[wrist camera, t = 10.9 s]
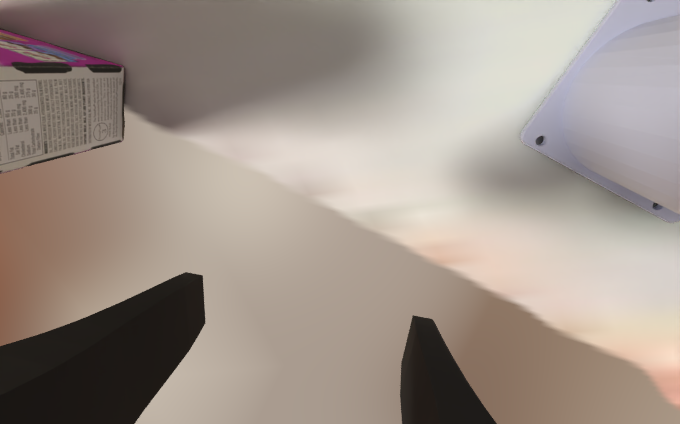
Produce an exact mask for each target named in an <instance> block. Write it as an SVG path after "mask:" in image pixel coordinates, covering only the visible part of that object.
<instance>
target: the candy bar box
mask: <svg viewBox="0 0 680 424" xmlns="http://www.w3.org/2000/svg"><path fill="white" fill-rule="evenodd" d="M124 84H125V83H124V67H123V66H122V65H119V64H115V63H112V62H109V61H105V60H102V59H99V58H95V57H92V56H88V55H85V54H82V53H79V52H75V51H72V50H68V49H65V48H62V47H58V46H55V45H52V44H48V43H45V42H42V41H38V40H35V39H31V38H28V37H25V36H22V35H18V34H15V33H12V32H9V31H6V30H2V29H0V173H5V172H9V171H12V170H16V169H20V168H23V167H25V166H31V165H34V164H38V163H42V162H46V161H50V160H54V159H57V158H61V157H66V156H69V155H73V154H78V153H81V152H86V151H89V150H92V149H96V148H99V147H104V146H108V145H111V144H115V143H119V142H122V141H123V138H124V127H125V125H124V124H125V121H124Z"/></svg>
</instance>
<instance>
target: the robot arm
mask: <svg viewBox="0 0 680 424" xmlns="http://www.w3.org/2000/svg"><path fill="white" fill-rule="evenodd" d="M539 136H543V137H544V140H543V142H542V143H541V144H539V145H536V139H537V138H538V137H539ZM520 140H521V142H522V143H524V144H525V145H527V146H529V147H531V148H533V149H534V150H536V151H538V152H540V153H542V154H543V155H545V156H547V157H549V158H551V159H553V160H554V161H556V162H558V163H560V164H562V165H564V166H565V167H567V168H569V169H571V170H573V171H575V172H576V173H578V174H580V175H582V176H584V177H585V178H587V179H589V180H591V181H593V182H595V183H596V184H598V185H600V186H602V187H604V188H606V189H607V190H609V191H611V192H613V193H615V194H617V195H618V196H620V197H622V198H624V199H626V200H628V201H629V202H631V203H633V204H635V205H637V206H638V207H640V208H642V209H644V210H646V211H648V212H649V213H651V214H653V215H655V216H657V217H659V218H660V219H662V220H664V221H666V222H669V223H675V222H678V221H680V0H651V1H650V2H648V1H647V0H616V2H615V3H614V4H613V6H612V7H611V9H610V10H609V11H608V13H607V14H606V15H605V17H604V18H603V20H602V21H601V22H600V24H599V25H598V27H597V28H596V29H595V31H594V32H593V33H592V35H591V36H590V38H589V39H588V40H587V42H586V43H585V44H584V46H583V47H582V49H581V50H580V51H579V53H578V54H577V55H576V57H575V58H574V60H573V61H572V62H571V64H570V65H569V66H568V68H567V69H566V71H565V72H564V73H563V75H562V76H561V77H560V79H559V80H558V82H557V83H556V84H555V86H554V87H553V88H552V90H551V91H550V93H549V94H548V95H547V97H546V98H545V99H544V101H543V102H542V104H541V105H540V106H539V108H538V109H537V110H536V112H535V113H534V115H533V116H532V117H531V119H530V120H529V121H528V123H527V124H526V126H525V127H524V128H523V130H522V131H521V133H520ZM654 203H657V204H658V205H657V206H655V207H653V204H654ZM204 324H205V310H204V292H203V276H202V275H197V274H192V273H187V272H186V273H183V274H181V275H178V276H176V277H174V278H172V279H169V280H167V281H165V282H163V283H161V284H159V285H157V286H155V287H153V288H150V289H149V290H146V291H144V292H142V293H140V294H138V295H136V296H133V297H131V298H129V299H127V300H125V301H123V302H120V303H118V304H116V305H113V306H111V307H109V308H106V309H104V310H102V311H99V312H97V313H95V314H93V315H90V316H88V317H86V318H83V319H80V320H78V321H76V322H73V323H70V324H67V325H65V326H62V327H59V328H56V329H53V330H51V331H48V332H45V333H42V334H39V335H36V336H33V337H30V338H26V339H23V340H20V341H16V342H13V343H10V344H6V345H3V346H0V424H134V423H135V422H136V421H137V419H138V418H139V416H140V415H141V414H142V412H143V411H144V409H145V408H146V407H147V405H148V404H149V403H150V401H151V400H152V399H153V398H154V396H155V395H156V394H157V392H158V391H159V390H160V388H161V387H162V386H163V384H164V383H165V382H166V381H167V379H168V378H169V376H170V375H171V374H172V373H173V371H174V370H175V369H176V367H177V366H178V365H179V363H180V362H181V361H182V359H183V358H184V357H185V355H186V354H187V353H188V351H189V350H190V348H191V347H192V345H193V343H194V342H195V340H196V338H197V337H198V335H199V333H200V331H201V330H202V328H203V326H204ZM400 397H401V413H402V424H496V422H495V421H494V419H493V418H492V417H491V415H490V414H489V413H488V411H487V410H486V408H485V407H484V406H483V404H482V403H481V401H480V400H479V398H478V397H477V395H476V394H475V392H474V391H473V389H472V388H471V387H470V385H469V383H468V382H467V380H466V378H465V377H464V375H463V373H462V372H461V370H460V368H459V367H458V365H457V363H456V362H455V360H454V359H453V356H452V355H451V353H450V351H449V349H448V347H447V346H446V344H445V342H444V340H443V338H442V336H441V334H440V332H439V330H438V328H437V326H436V324H435V323H434V321H433V320H432V319H429V318H423V317H418V316H413V318H412V322H411V326H410V330H409V334H408V338H407V343H406V347H405V351H404V355H403V359H402V365H401V390H400Z"/></svg>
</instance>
